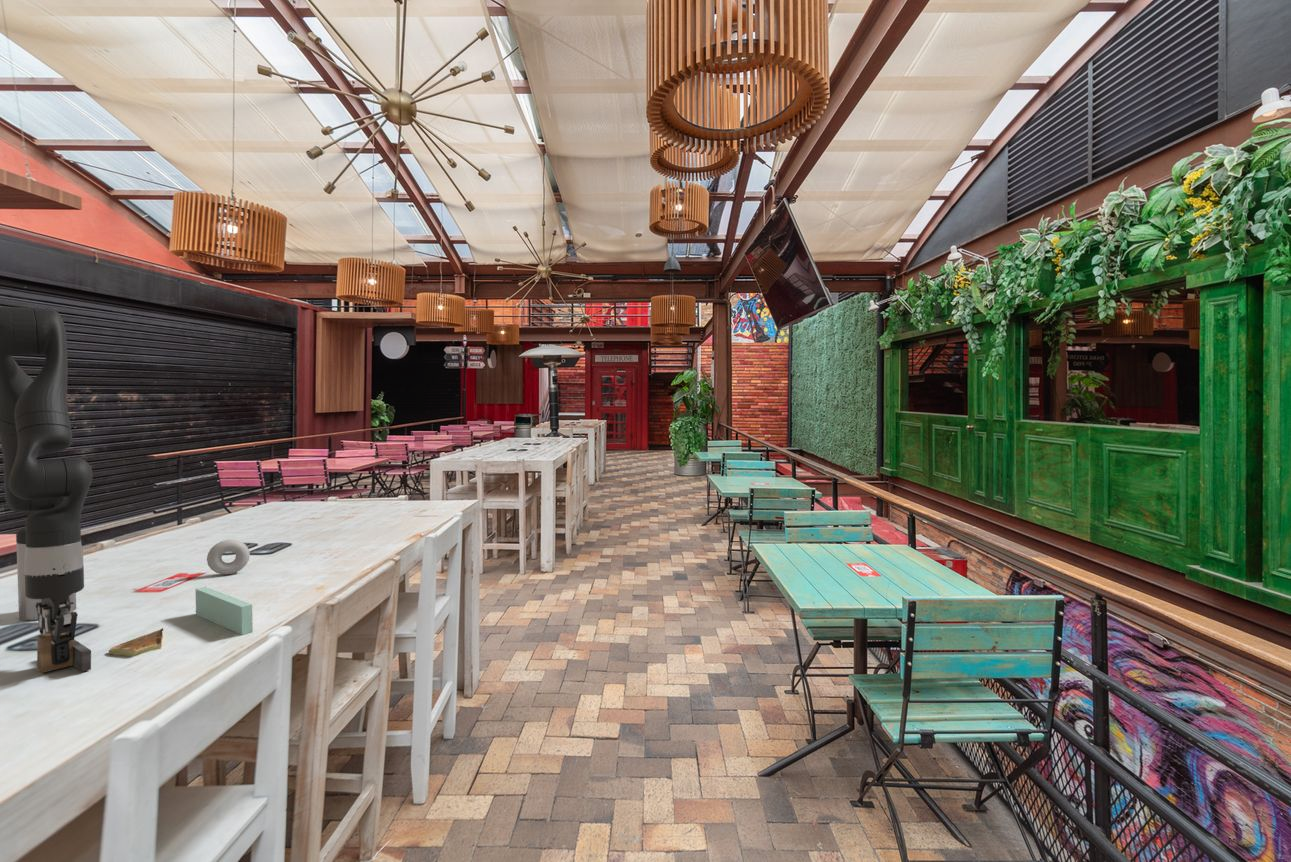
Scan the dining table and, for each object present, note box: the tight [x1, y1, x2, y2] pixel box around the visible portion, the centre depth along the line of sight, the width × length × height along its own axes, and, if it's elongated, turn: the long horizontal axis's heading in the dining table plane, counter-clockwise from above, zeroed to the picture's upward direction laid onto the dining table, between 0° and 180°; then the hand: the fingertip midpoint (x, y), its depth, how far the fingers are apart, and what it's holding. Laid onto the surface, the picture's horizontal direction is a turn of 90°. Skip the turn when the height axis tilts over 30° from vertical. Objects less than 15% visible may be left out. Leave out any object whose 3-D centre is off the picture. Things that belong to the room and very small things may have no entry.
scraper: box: [36, 633, 92, 674], centre depth 106 cm, size 13×5×6 cm, turn 58°
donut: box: [206, 539, 251, 576], centre depth 165 cm, size 10×4×10 cm, turn 125°
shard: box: [108, 627, 164, 658], centre depth 116 cm, size 11×8×2 cm
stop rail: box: [195, 586, 254, 636], centre depth 128 cm, size 22×2×6 cm, turn 59°
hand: (57, 660), depth 106 cm, fingers closed on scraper, 3 cm apart
